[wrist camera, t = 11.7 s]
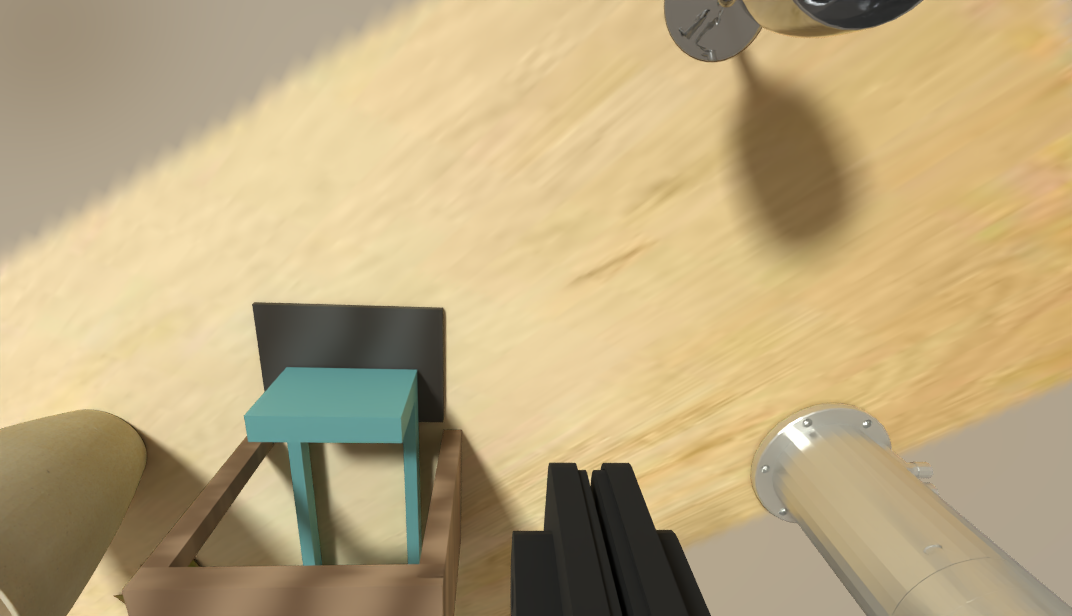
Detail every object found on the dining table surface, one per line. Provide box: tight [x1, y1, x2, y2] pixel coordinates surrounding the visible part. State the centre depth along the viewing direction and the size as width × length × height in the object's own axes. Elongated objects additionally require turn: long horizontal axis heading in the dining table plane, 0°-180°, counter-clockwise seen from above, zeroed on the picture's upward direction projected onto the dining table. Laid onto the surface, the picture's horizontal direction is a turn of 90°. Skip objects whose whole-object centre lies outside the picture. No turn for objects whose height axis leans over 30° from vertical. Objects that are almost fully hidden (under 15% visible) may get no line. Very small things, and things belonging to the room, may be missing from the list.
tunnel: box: [122, 302, 462, 616], centre depth 35 cm, size 17×23×16 cm
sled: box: [244, 367, 422, 566], centre depth 42 cm, size 10×31×7 cm, turn 177°
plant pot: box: [0, 410, 147, 616], centre depth 34 cm, size 15×15×16 cm
